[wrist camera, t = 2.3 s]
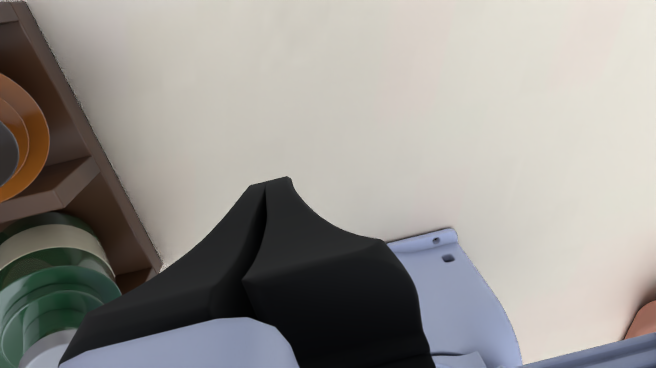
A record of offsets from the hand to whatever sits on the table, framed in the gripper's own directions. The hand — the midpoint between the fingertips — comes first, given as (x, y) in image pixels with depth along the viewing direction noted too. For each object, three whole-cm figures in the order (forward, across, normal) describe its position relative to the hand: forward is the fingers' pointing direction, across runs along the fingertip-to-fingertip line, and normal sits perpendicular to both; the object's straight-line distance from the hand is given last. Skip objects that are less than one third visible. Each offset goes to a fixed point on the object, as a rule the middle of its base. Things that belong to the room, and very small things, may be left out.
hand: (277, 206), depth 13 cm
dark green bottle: (+8, +14, +4) cm, 17 cm away
